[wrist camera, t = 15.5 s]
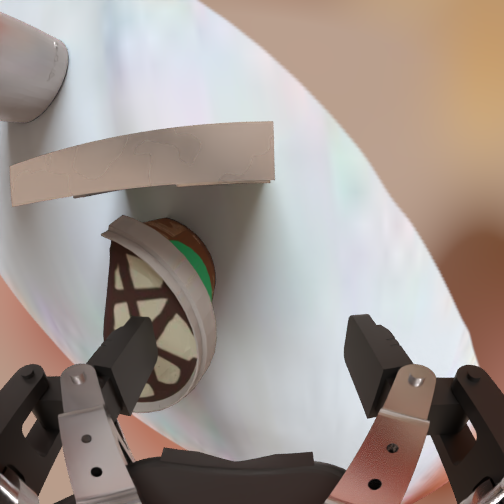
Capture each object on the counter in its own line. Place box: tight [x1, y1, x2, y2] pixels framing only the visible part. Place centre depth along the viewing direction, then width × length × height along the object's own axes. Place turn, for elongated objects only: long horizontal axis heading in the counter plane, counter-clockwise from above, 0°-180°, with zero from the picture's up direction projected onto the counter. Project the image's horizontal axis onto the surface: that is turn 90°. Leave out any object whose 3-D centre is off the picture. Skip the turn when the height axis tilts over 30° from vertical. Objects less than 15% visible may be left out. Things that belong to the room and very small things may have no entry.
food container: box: [101, 215, 217, 413], centre depth 17 cm, size 12×6×10 cm, turn 164°
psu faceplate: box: [10, 121, 275, 207], centre depth 14 cm, size 11×2×12 cm, turn 91°
